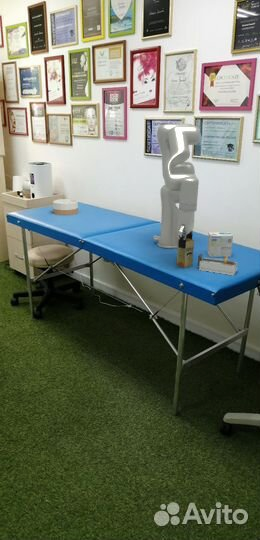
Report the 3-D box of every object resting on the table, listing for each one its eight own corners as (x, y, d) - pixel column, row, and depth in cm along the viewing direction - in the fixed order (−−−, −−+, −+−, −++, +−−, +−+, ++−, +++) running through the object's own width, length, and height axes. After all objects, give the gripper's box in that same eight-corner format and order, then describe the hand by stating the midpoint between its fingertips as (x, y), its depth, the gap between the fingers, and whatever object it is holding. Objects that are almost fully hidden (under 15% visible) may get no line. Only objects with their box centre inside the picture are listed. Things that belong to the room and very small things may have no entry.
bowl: (51, 215, 276) (50, 203, 273) (56, 210, 292) (55, 198, 289) (76, 215, 275) (75, 203, 272) (80, 210, 291) (79, 199, 288)
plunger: (197, 265, 177) (198, 254, 175) (199, 263, 179) (200, 252, 178) (225, 270, 172) (227, 258, 170) (227, 267, 175) (228, 256, 173)
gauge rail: (198, 270, 175) (199, 261, 174) (203, 265, 181) (203, 256, 180) (233, 275, 169) (234, 266, 168) (236, 270, 175) (237, 261, 174)
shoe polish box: (176, 265, 182) (178, 239, 177) (184, 262, 184) (185, 237, 180) (184, 268, 178) (186, 241, 174) (192, 265, 181) (194, 240, 177)
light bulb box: (227, 252, 199) (229, 231, 195) (231, 257, 193) (233, 235, 189) (206, 252, 199) (208, 231, 195) (209, 257, 192) (211, 235, 189)
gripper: (185, 201, 181) (182, 237, 187) (173, 210, 166) (170, 249, 173) (201, 203, 178) (198, 240, 184) (190, 212, 163) (187, 251, 170)
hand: (185, 244), depth 179 cm, fingers open, 9 cm apart
